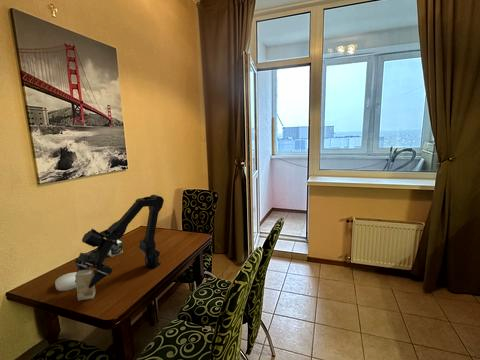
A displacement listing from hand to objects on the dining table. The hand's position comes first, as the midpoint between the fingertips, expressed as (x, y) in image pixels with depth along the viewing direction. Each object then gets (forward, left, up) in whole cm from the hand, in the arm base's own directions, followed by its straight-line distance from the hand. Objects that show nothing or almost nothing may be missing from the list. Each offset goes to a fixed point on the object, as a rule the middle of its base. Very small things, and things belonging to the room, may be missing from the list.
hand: (82, 285), depth 112 cm
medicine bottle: (+23, -38, -7) cm, 44 cm away
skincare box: (0, -1, -7) cm, 7 cm away
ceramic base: (+17, -5, -7) cm, 19 cm away
